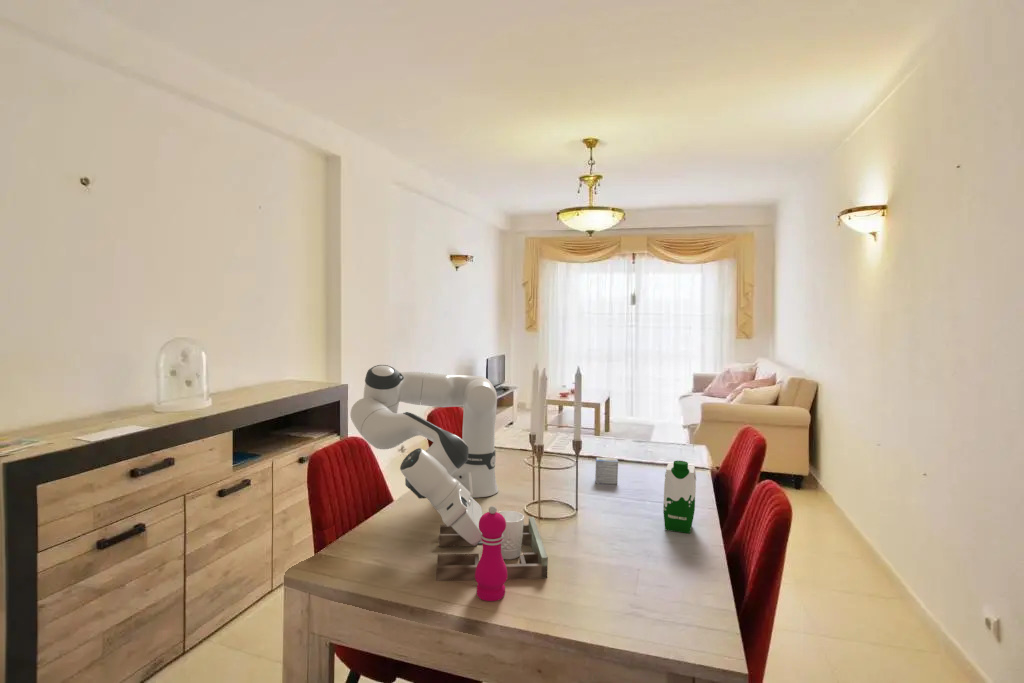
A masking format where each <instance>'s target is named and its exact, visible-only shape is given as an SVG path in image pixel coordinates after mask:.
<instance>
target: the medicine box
mask: <svg viewBox="0 0 1024 683" xmlns="http://www.w3.org/2000/svg"><path fill="white" fill-rule="evenodd" d="M618 472H619V460H618V458H615V457H595V477H594V478H595V484H600V485H601V484H603V485H618V478H619V477H618V475H619V474H618Z"/></svg>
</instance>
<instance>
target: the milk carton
mask: <svg viewBox="0 0 1024 683" xmlns="http://www.w3.org/2000/svg"><path fill="white" fill-rule="evenodd" d="M696 474H697V473H696V467H695V465H689V463H688V462H687V461H683V460H674V461H673V463H672V462H668V464H667V465H666V468H665V472H664V477H665V478H664V487H663V510H662V511H663V522H664V523H663V524H664V531H670V532H677V533H684V534H689V535H690V534H691V531H692V526H693V520H694V516H695V509H696V492H697V491H696V490H697V489H696V488H697V485H696V483H697V475H696Z"/></svg>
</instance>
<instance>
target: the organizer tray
mask: <svg viewBox="0 0 1024 683" xmlns="http://www.w3.org/2000/svg"><path fill="white" fill-rule="evenodd" d="M438 537H439V538H438V539H439V540H438V542H439V543H438V547H439V548H440V547H442V548H443V547H444V548H445V547H447V548H449V547H478V545H483V543H482V542H481V541H480V542H479V543H478V544H477V545H475V546H474V545H471V544H470V543H468V542H467V541H466V540H465V539H464V538H462V537H461V536H460V535H459V534H458V533H457V532H456V531H455V530H454V529H453V528H452V526H449V527H448V526H447V525H445V524H440V525H439V534H438ZM521 546H531V548H532V550H533V552H523V553H522V554H520V555H519V558H518V559H519V562H518V563H505V565H506V568H507V576H508V577H507V580H517V579H520V580H523V579H526V580H527V579H529V580H530V579H548V564H549V560H548V559H549V557H548V554H547V551H546V548H545V545H544V542H543V540H542V537H541V534H540V531H539V528H538V525H537V522H536V519H535V517H534V516H528V523H524V524H523V537H522V545H521ZM479 554H480V553H438V554H437V556H436V557H437V559H436V560H437V565H436V568H435V571H436V573H435V574H436V576H435V577H436V578H435V579H436V580H435V581H473V580H474V581H476V580H475V570H476V567H477V565H478V563H479V561H480V555H479Z"/></svg>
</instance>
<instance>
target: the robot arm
mask: <svg viewBox="0 0 1024 683" xmlns="http://www.w3.org/2000/svg"><path fill="white" fill-rule="evenodd" d="M400 403H405V404H410V405H417V406H426V407H433V408H434V407H436V408H437V407H439V408H453V407H454V408H455V407H456V408H458V407H463V411H462V412H463V416H462V417H463V418H462V436H461V437H462V438H461V437H460V436H458V435H456V433H452V432H450V431H448V430H445V429H443V428H441V427H439V426H437V425H435V424H433V423H432V422H430V421H428V420H426V419H424V418H422V417H421V416H419V415H416V414H414V413H412V412H410V411H405V412H403V413H398V410H399V404H400ZM497 405H498V393H497V390H496V388H495V387H494V385H493V384H492V382H491V381H490V380H489V379H488V378H487V377H484V376H480V375H469V374H468V375H467V374H466V375H465V374H464V375H463V374H444V373H443V374H442V373H430V372H421V371H402V372H400V371H399V370H397V369H396V368H395V367H393V366H390V365H389V364H387V365H386V364H378V365H373V366H372V367H370V368H369V369H368V370H367V371H366V375H365V378H364V389H363V397H362V398H361V399H358V400H357V401H355V403H354V404H353V405H352V407H351V409H350V414H349V416H350V419H351V422H352V423H353V425H354V428H355V429H356V430H357V431H358V433H359V435H360V436H361V437H362V438H363V439H364V440H365V441H366V442H367V443H368V444H369V445H370V446H372V447H374V448H375V449H377V450H378V449H379V450H389V449H393V448H396V447H398V446H400V445H401V444H403V443H404V442H406V441H408V440H411V439H412V438H414V437H418V436H422V437H424V438H425V439H427V440H429V441H431V443H432V444H431V445H430V446H429V447H428V448H426V450H424V449H423V448H421V447H419V448H416V449H414V450H412V451H411V452H409V453H408V454H407V455H406V456H405V457H404V459H403V460H402V462H401V463H400V467H399V470H400V472H401V474H402V475H403V476H404V478H405V479H404V480H405V482H404V484H405V486H406V487H407V488H408V489H409V490H410V491H411V492H412V493H413V494H414V496H416V497H417V498H418V500H419V499H427V500H428V502H429V503H430V505H431V506H432V508H434V509H435V510H436V511H437V513H438V514H439V515H440V517H441V520H442V523H443V525H447V526H448V527H449V526H452V528H453V529H454V530H455V531H456V532H457V533H458V534H459V535H460V536H461V537H462V538H464V539H465V540H466V541H467V542H468V543H470V544H471V545H474V546H473V547H476V546H475V545H477V546H478V545H479V544H478V543H479V542H480V541H481V534H482V532H481V531H480V530H479V520H480V518H481V516H482V515H483V507H482V506H481V505H480V503H479V502H478V501H477V500H475V499H474V498H485V497H486V498H487V497H490V496H493V495H496V494H497V493H498V492H499V488H498V484H497V480H496V470H495V469H496V468H495V467H496V460H497V458H496V449H495V439H496V438H495V437H496V436H495V434H496V433H495V432H496V431H495V430H496V422H497V421H496V419H497V409H498V408H497Z"/></svg>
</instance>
